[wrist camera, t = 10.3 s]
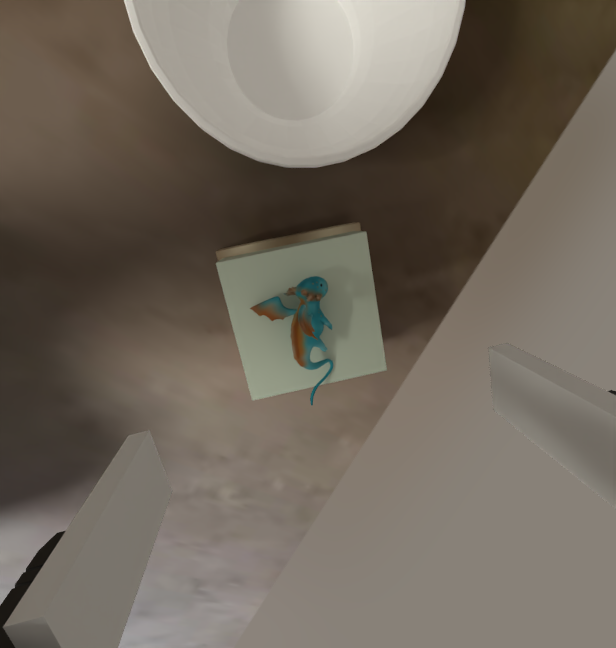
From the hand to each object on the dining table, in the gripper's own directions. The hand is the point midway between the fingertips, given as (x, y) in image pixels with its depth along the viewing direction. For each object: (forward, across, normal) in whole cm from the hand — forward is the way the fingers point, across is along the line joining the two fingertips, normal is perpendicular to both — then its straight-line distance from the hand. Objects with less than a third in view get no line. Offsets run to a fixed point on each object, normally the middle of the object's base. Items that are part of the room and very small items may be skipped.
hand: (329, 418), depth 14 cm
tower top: (+18, +1, 0) cm, 18 cm away
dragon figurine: (+14, 0, -1) cm, 15 cm away
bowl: (+22, +4, +20) cm, 30 cm away
